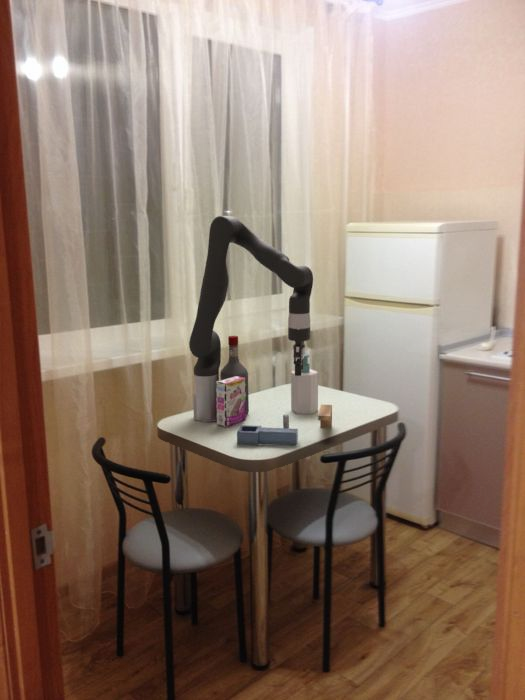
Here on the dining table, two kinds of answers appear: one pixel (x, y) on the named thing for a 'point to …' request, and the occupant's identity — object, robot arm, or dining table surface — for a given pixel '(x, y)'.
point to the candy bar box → (231, 401)
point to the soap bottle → (304, 390)
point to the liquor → (235, 366)
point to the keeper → (325, 416)
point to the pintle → (285, 421)
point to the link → (266, 436)
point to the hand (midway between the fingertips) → (299, 372)
